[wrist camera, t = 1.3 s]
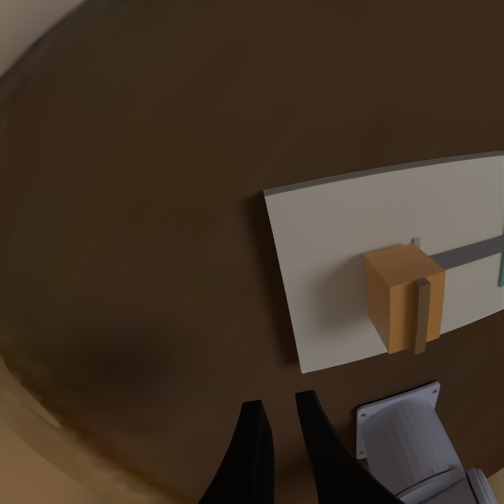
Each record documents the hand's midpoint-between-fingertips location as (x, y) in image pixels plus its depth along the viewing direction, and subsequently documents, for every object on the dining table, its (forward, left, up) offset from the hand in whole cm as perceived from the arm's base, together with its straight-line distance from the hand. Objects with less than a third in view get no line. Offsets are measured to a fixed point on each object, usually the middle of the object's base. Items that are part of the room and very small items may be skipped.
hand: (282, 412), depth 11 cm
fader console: (0, -15, -9) cm, 18 cm away
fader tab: (0, -7, -7) cm, 10 cm away
